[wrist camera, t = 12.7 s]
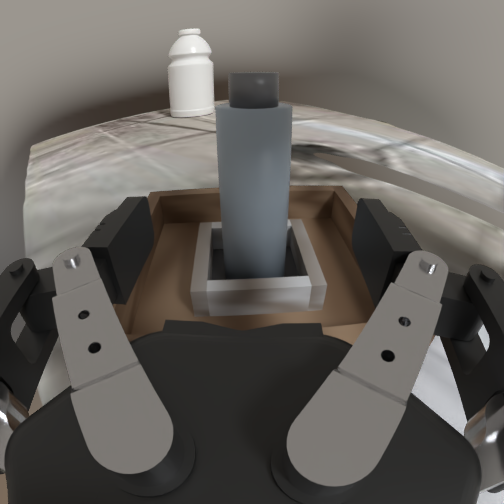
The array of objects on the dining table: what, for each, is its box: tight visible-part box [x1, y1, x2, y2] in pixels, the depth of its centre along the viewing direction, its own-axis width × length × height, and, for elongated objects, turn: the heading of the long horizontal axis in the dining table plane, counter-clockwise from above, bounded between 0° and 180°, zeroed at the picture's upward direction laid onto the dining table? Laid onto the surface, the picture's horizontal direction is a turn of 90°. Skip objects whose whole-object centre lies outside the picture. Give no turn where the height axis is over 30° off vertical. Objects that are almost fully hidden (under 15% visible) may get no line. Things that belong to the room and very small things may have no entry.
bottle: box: [168, 29, 215, 118], centre depth 81 cm, size 14×14×28 cm
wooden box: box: [113, 186, 435, 346], centre depth 23 cm, size 19×19×4 cm
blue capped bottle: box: [215, 72, 292, 280], centre depth 19 cm, size 4×4×14 cm
